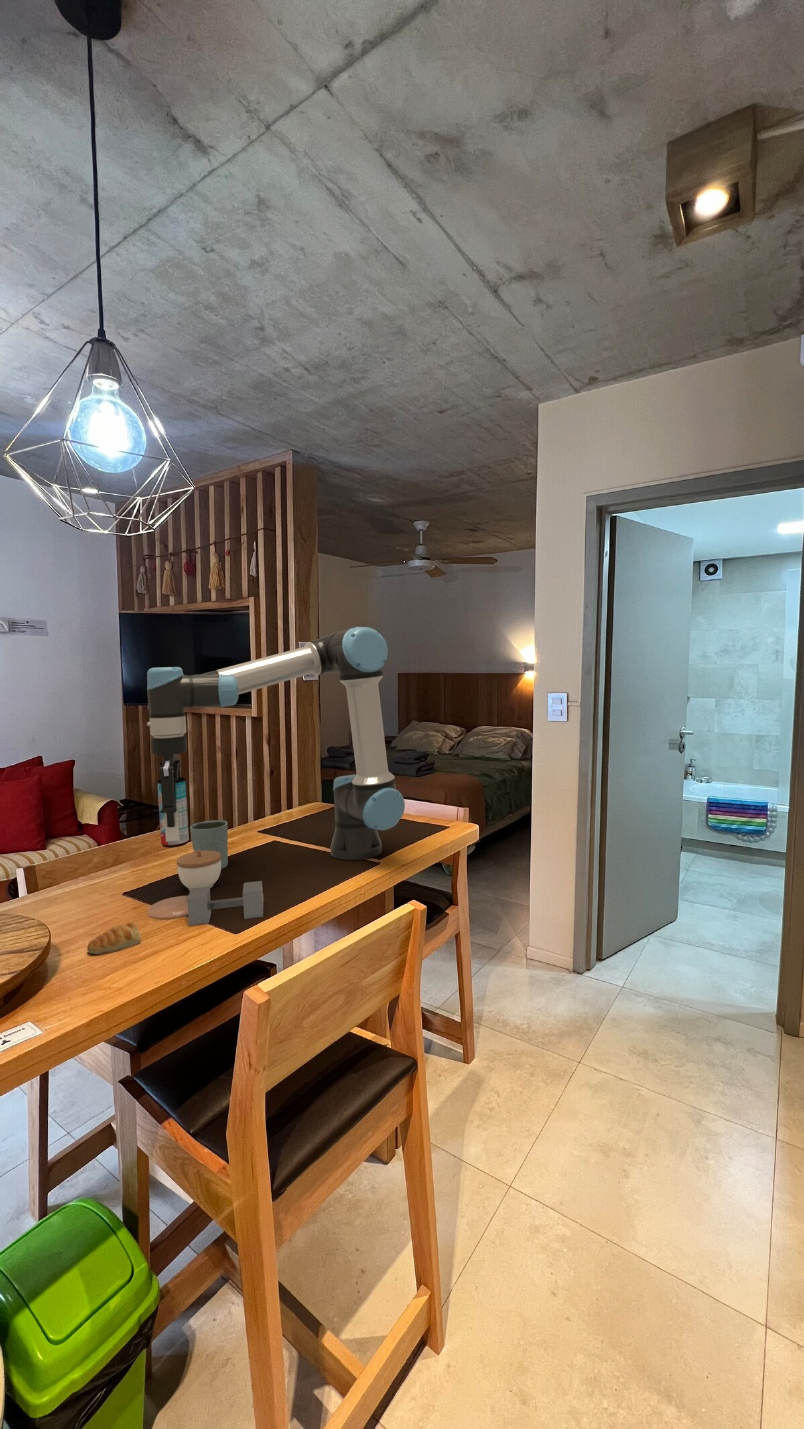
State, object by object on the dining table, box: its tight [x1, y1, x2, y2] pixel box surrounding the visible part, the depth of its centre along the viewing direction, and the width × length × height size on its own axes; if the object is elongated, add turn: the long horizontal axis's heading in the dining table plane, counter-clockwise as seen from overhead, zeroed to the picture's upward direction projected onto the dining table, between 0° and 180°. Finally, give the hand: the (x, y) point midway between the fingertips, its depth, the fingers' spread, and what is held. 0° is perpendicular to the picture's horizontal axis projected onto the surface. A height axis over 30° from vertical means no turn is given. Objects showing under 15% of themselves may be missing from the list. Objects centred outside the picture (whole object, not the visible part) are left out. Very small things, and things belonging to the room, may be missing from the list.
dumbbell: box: [187, 880, 264, 926], centre depth 132 cm, size 16×9×6 cm, turn 102°
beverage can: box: [156, 776, 190, 849], centre depth 133 cm, size 6×6×15 cm
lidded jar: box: [176, 850, 222, 891], centre depth 149 cm, size 11×11×9 cm
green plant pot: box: [189, 819, 229, 870], centre depth 165 cm, size 10×10×12 cm
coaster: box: [147, 895, 188, 920], centre depth 136 cm, size 12×12×1 cm
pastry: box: [86, 921, 142, 955], centre depth 118 cm, size 9×7×4 cm
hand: (174, 836), depth 134 cm, fingers closed on beverage can, 6 cm apart
